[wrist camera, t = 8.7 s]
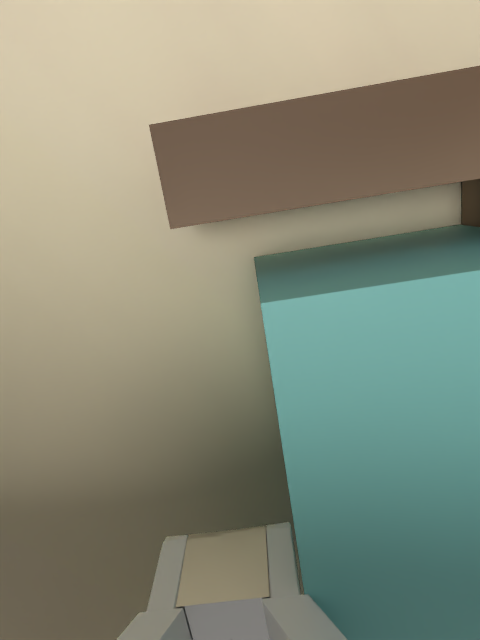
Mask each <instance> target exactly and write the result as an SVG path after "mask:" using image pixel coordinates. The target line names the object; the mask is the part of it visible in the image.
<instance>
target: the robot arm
mask: <svg viewBox="0 0 480 640" xmlns="http://www.w3.org/2000/svg"><path fill="white" fill-rule="evenodd" d="M116 640H347V638H346V637H345V636H344V635H343V634H342V633H341V631H340V630H339V629H338V628H337V627H336V626H335V624H334V623H333V622H332V621H331V620H330V619H329V618H328V616H327V615H326V614H325V613H324V612H323V611H322V609H321V608H320V607H319V606H318V605H317V604H316V602H315V601H314V600H313V599H312V598H311V597H310V596H309V594H305V595H302V594H301V588H300V581H299V575H298V568H297V562H296V555H295V549H294V542H293V535H292V529H291V524H290V522H285V523H278V524H270V525H267V526H266V525H264V526H256V527H248V528H241V529H233V530H225V531H216V532H205V533H195V534H189V535H179V536H167V537H166V538H165V540H164V542H163V543H162V548H161V552H160V556H159V560H158V564H157V568H156V573H155V577H154V581H153V585H152V589H151V593H150V598H149V602H148V606H147V610H146V612H140V613H138V614H137V615H136V616H135V618H134V619H133V620H132V621H131V622H130V624H129V625H128V626H127V627H126V628H125V630H124V631H123V632H122V633H121V634H120V636H119V637H118V638H117V639H116Z"/></svg>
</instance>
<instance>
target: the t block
mask: <svg viewBox="0 0 480 640" xmlns="http://www.w3.org/2000/svg"><path fill="white" fill-rule="evenodd" d="M254 260H255V267H256V274H257V281H258V288H259V295H260V302H261V309H262V316H263V322H264V329H265V336H266V342H267V349H268V356H269V362H270V369H271V375H272V382H273V389H274V395H275V402H276V409H277V415H278V422H279V429H280V435H281V442H282V449H283V455H284V462H285V468H286V475H287V482H288V488H289V495H290V502H291V508H292V515H293V522H294V528H295V535H296V542H297V548H298V555H299V562H300V568H301V575H302V581H303V588H304V595H305V594H309V596H310V597H311V598H312V599H313V600H314V601H315V602H316V604H317V605H318V606H319V607H320V608H321V609H322V611H323V612H324V613H325V614H326V615H327V616H328V618H329V619H330V620H331V621H332V622H333V623H334V624H335V626H336V627H337V628H338V629H339V630H340V631H341V633H342V634H343V635H344V636H345V637H346V638H347V640H480V227H475V226H467V225H454V226H448V227H442V228H436V229H429V230H423V231H417V232H410V233H404V234H398V235H392V236H385V237H379V238H373V239H366V240H360V241H354V242H348V243H341V244H335V245H329V246H322V247H316V248H310V249H304V250H297V251H291V252H285V253H278V254H272V255H266V256H259V257H254Z"/></svg>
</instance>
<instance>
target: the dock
mask: <svg viewBox="0 0 480 640" xmlns="http://www.w3.org/2000/svg"><path fill="white" fill-rule="evenodd" d="M149 127H150V132H151V137H152V141H153V146H154V151H155V156H156V161H157V166H158V171H159V176H160V180H161V185H162V190H163V195H164V200H165V205H166V210H167V215H168V219H169V224H170V229H174V228H180V227H186V226H192V225H198V224H204V223H210V222H217V221H223V220H229V219H235V218H241V217H247V216H253V215H259V214H266V213H272V212H278V211H284V210H290V209H296V208H302V207H309V206H315V205H321V204H327V203H333V202H339V201H345V200H352V199H358V198H364V197H370V196H376V195H382V194H388V193H394V192H401V191H407V190H413V189H419V188H425V187H431V186H437V185H444V184H450V183H456V182H462V225H467V226H475V227H480V66H476V67H470V68H464V69H459V70H453V71H448V72H442V73H437V74H431V75H425V76H420V77H414V78H409V79H403V80H397V81H392V82H386V83H381V84H375V85H369V86H364V87H358V88H353V89H347V90H341V91H336V92H330V93H325V94H319V95H314V96H308V97H302V98H297V99H291V100H286V101H280V102H274V103H269V104H263V105H258V106H252V107H246V108H241V109H235V110H230V111H224V112H219V113H213V114H207V115H202V116H196V117H191V118H185V119H179V120H174V121H168V122H163V123H157V124H151V125H149Z"/></svg>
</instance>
